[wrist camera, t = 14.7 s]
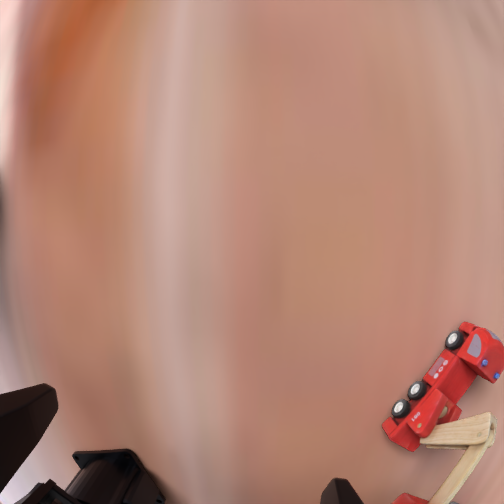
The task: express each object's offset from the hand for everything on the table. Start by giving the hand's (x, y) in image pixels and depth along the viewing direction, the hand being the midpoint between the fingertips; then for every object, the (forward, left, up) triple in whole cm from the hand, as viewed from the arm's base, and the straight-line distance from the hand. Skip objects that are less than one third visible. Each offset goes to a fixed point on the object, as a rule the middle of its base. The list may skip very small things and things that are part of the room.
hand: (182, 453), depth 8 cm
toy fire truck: (+12, -10, -12) cm, 19 cm away
